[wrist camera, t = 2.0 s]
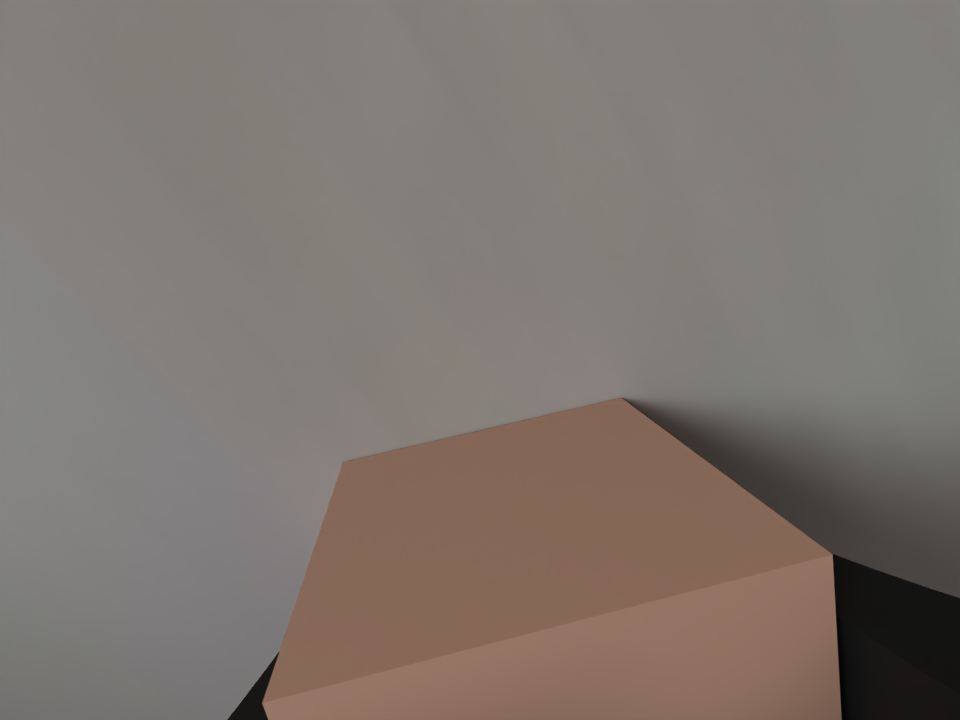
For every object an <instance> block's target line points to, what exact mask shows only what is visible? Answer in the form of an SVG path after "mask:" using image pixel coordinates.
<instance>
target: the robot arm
mask: <svg viewBox="0 0 960 720" xmlns="http://www.w3.org/2000/svg"><path fill="white" fill-rule="evenodd" d="M831 554H832V553H831ZM833 571H834V589H835V607H836V626H837V644H838V662H839V681H840V699H841V717H842V720H960V598H958V597H954V596H951V595H948V594H945V593H942V592H939V591H936V590H932V589H930V588H927V587H924V586H921V585H918V584H915V583H912V582H909V581H906V580H903V579H900V578H898V577H895V576H892V575H889V574H886V573H883V572H880V571H877V570H874V569H872V568H869V567H866V566H864V565H861V564H858V563H855V562H853V561H850V560H847V559H845V558H842V557H839V556H837V555H834V554H833ZM279 652H280V651H279ZM278 655H279V653H278V654H277V655H276V657H275V658H274V659H273V661H272V662H271V663H270V665H269V666H268V667H267V669H266V670H265V671H264V673H263V674H262V675H261V677H260V678H259V679H258V681H257V682H256V683H255V685H254V686H253V687H252V689H251V690H250V691H249V693H248V694H247V695H246V697H245V698H244V699H243V701H242V702H241V703H240V704H239V706H238V707H237V708H236V710H235V711H234V712H233V713H232V715H231V716H230V717H229V718H228V719H227V720H268V718H267V715H266V712H265V709H264V707H263V704H262V702H263V699H264V696H265V693H266V690H267V688H268V685H269V682H270V679H271V676H272V673H273V670H274V667H275V664H276V661H277V658H278Z"/></svg>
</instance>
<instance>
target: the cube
mask: <svg viewBox="0 0 960 720" xmlns="http://www.w3.org/2000/svg"><path fill="white" fill-rule="evenodd" d="M262 704H263V707H264V709H265V712H266V715H267V718H268V720H842V717H841V699H840V681H839V662H838V644H837V626H836V607H835V589H834V571H833V554H831V553H830V552H829V551H827V550H826V549H824V548H823V547H822V546H820V545H819V544H818V543H816V542H815V541H814V540H812V539H811V538H810V537H808V536H807V535H806V534H804V533H803V532H802V531H800V530H799V529H798V528H796V527H795V526H793V525H792V524H791V523H789V522H788V521H787V520H785V519H784V518H783V517H781V516H780V515H779V514H777V513H776V512H775V511H773V510H772V509H771V508H769V507H768V506H767V505H765V504H764V503H762V502H761V501H760V500H758V499H757V498H756V497H754V496H753V495H752V494H750V493H749V492H748V491H746V490H745V489H744V488H742V487H741V486H740V485H738V484H737V483H735V482H734V481H733V480H731V479H730V478H729V477H727V476H726V475H725V474H723V473H722V472H721V471H719V470H718V469H717V468H715V467H714V466H713V465H711V464H710V463H709V462H707V461H706V460H704V459H703V458H702V457H700V456H699V455H698V454H696V453H695V452H694V451H692V450H691V449H690V448H688V447H687V446H686V445H684V444H683V443H682V442H680V441H679V440H677V439H676V438H675V437H673V436H672V435H671V434H669V433H668V432H667V431H665V430H664V429H663V428H661V427H660V426H659V425H657V424H656V423H655V422H653V421H652V420H651V419H649V418H648V417H646V416H645V415H644V414H642V413H641V412H640V411H638V410H637V409H636V408H634V407H633V406H632V405H630V404H629V403H628V402H626V401H625V400H624V399H622V398H619V399H615V400H610V401H606V402H602V403H597V404H593V405H589V406H584V407H580V408H576V409H571V410H567V411H563V412H558V413H554V414H550V415H546V416H541V417H537V418H533V419H528V420H524V421H520V422H515V423H511V424H507V425H502V426H498V427H494V428H489V429H485V430H481V431H477V432H472V433H468V434H464V435H459V436H455V437H451V438H446V439H442V440H438V441H433V442H429V443H425V444H420V445H416V446H412V447H407V448H403V449H399V450H395V451H390V452H386V453H382V454H377V455H373V456H369V457H364V458H360V459H356V460H351V461H347V462H343V464H342V467H341V470H340V473H339V476H338V479H337V482H336V485H335V488H334V491H333V494H332V497H331V500H330V503H329V506H328V509H327V512H326V515H325V518H324V521H323V524H322V527H321V530H320V533H319V536H318V539H317V542H316V545H315V548H314V551H313V554H312V556H311V559H310V562H309V565H308V568H307V571H306V574H305V577H304V580H303V583H302V586H301V589H300V592H299V595H298V598H297V601H296V604H295V607H294V610H293V613H292V616H291V619H290V622H289V625H288V628H287V631H286V634H285V637H284V640H283V643H282V646H281V649H280V652H279V655H278V658H277V661H276V664H275V667H274V670H273V673H272V676H271V679H270V682H269V685H268V688H267V690H266V693H265V696H264V699H263V702H262Z"/></svg>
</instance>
